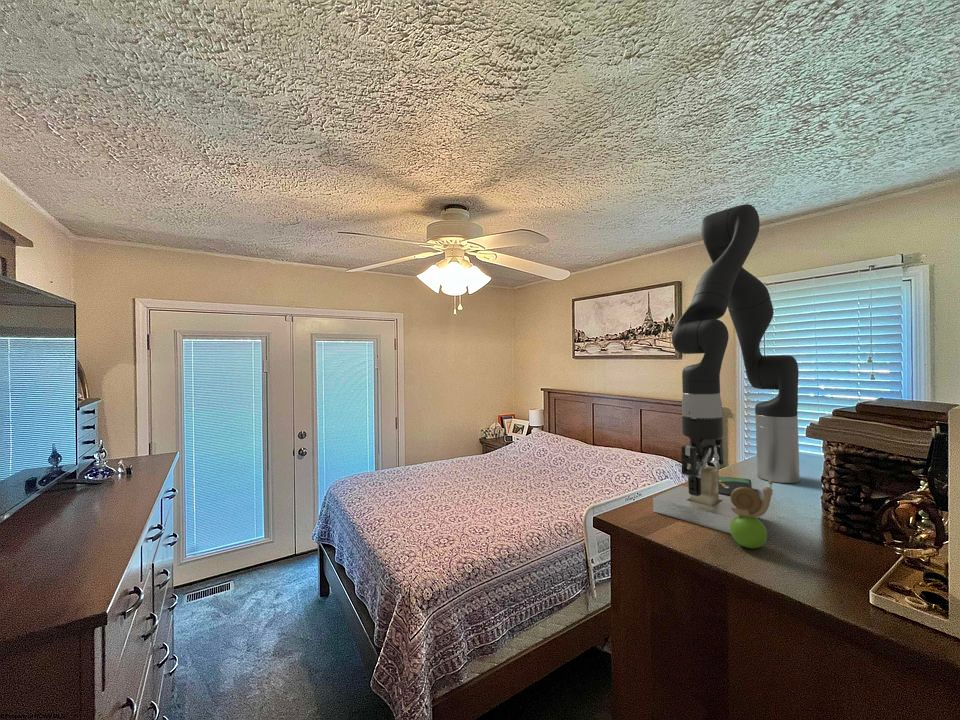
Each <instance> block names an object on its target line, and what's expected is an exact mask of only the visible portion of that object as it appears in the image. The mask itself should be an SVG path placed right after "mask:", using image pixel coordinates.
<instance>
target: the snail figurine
mask: <svg viewBox="0 0 960 720" xmlns="http://www.w3.org/2000/svg"><path fill="white" fill-rule="evenodd" d="M768 485H770V486H765V487H764V488H762V493H763V495H762V499H761V497H760V495H759V493H757V492H756V491H755V490H754V489H753V488H752V489H750V488H747V487H738V488H736V489H734V490H733V491H732V493H731V495H730V499H731V502H732V504H733V505H734V506H735V507H736V508H734V507H731V510H732V511H733V512H734V513H736V514H737V515H739V516H737V517H735V518H734V519H733V520H732V522H731V525H730V531H731V534H730V535H731V537H732V538H733V540H734V541H735V542H737V544H738V545H740V546H742V547H745V548H747V549H758V548H760V547H762V546H764V545H765V544H766V542H767V540H768V530H767V528H766V526H765V525H764V523H763V522H762V521H761V520H759V518H758V519H757V518H755V517H758V516H759V517H761V516H763V515H765V514H766V513H767V511H768V509H769V507H770V502H771V500H772V495H773V492H774V490H773V489H772V485H773V481H771V480H769V481H768Z"/></svg>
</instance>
